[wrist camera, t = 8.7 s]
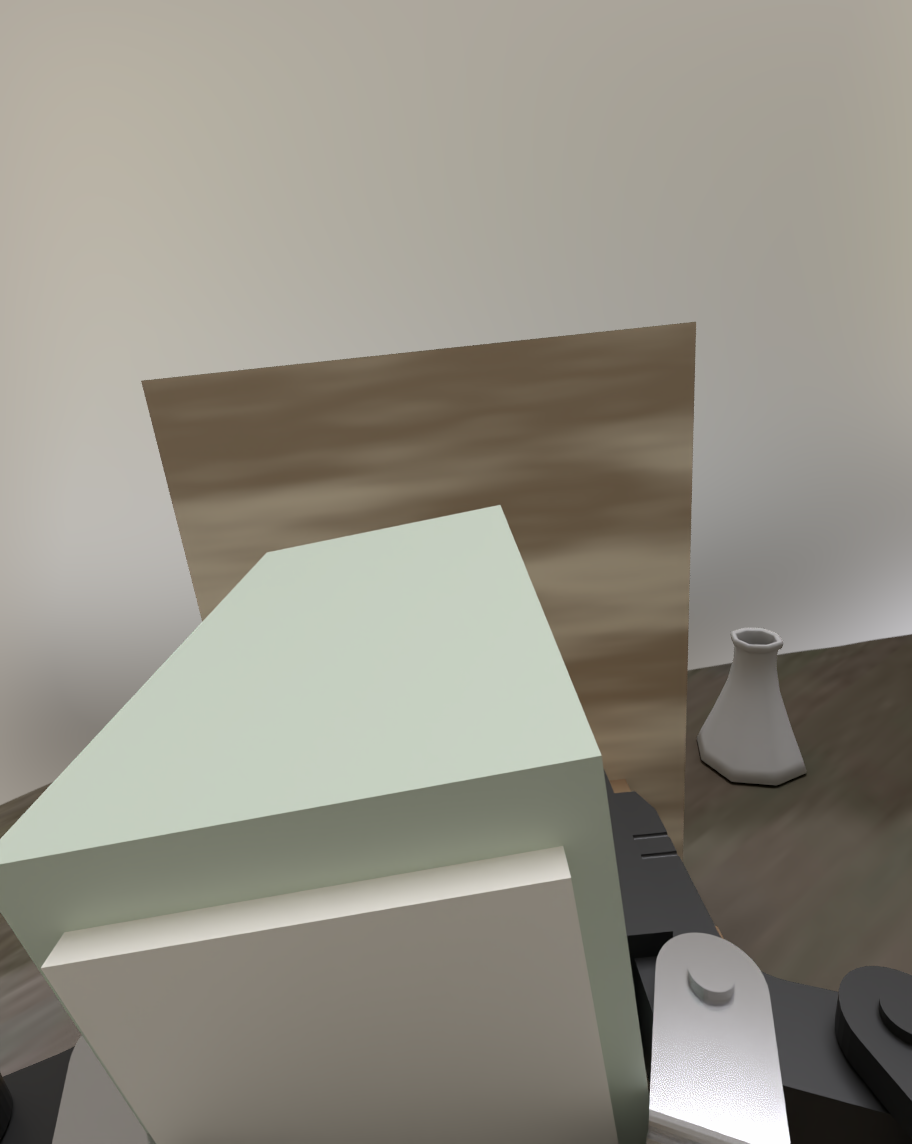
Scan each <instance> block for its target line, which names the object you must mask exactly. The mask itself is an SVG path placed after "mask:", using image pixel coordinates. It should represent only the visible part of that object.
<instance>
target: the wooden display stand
mask: <svg viewBox="0 0 912 1144" xmlns="http://www.w3.org/2000/svg"><path fill="white" fill-rule="evenodd" d="M695 339H696V322H690V323H680V324H670V325H662V326H652V327H643V328H634V329H624V330H615V331H606V332H595V333H586V334H577V335H567V336H558V337H548V338H539V339H530V340H521V341H511V342H502V343H492V344H483V345H473V346H464V347H454V348H445V349H436V350H426V351H417V352H408V353H398V354H389V355H380V356H370V357H360V358H351V359H342V360H332V361H323V362H314V363H305V364H295V365H286V366H276V367H266V368H257V369H248V370H238V371H229V372H220V373H211V374H201V375H192V376H182V377H173V378H163V379H154V380H144V381H141V382H142V385H143V390H144V393H145V397H146V401H147V405H148V409H149V413H150V417H151V421H152V425H153V429H154V433H155V437H156V441H157V445H158V449H159V452H160V457H161V460H162V464H163V468H164V472H165V476H166V480H167V484H168V488H169V492H170V496H171V499H172V504H173V508H174V512H175V515H176V520H177V524H178V527H179V531H180V535H181V539H182V543H183V547H184V551H185V555H186V559H187V563H188V567H189V571H190V575H191V578H192V583H193V587H194V591H195V594H196V598H197V602H198V606H199V610H200V614H201V618H202V622H203V621H204V619H205V618H206V617H207V616H208V615H209V614H210V613H211V612H212V611H213V610H214V609H215V608H216V607H217V606H218V604H219V603H220V602H221V601H222V600H223V599H224V598H225V597H226V596H227V595H228V594H229V593H230V592H231V590H232V589H233V588H234V587H235V586H236V585H237V584H238V583H239V582H240V581H241V580H242V579H243V578H244V576H245V575H246V574H247V573H248V572H249V571H250V570H251V569H252V568H253V567H254V566H255V565H256V564H257V562H258V561H259V560H260V559H261V558H262V557H263V556H264V555H265V554H266V553H267V552H272V551H277V550H282V549H287V548H291V547H296V546H301V545H306V544H311V543H316V542H321V541H326V540H331V539H336V538H340V537H345V536H350V535H355V534H360V533H365V532H370V531H375V530H380V529H384V528H389V527H394V526H399V525H404V524H409V523H414V522H419V521H424V520H429V519H433V518H438V517H443V516H448V515H453V514H458V513H463V512H468V511H473V510H477V509H482V508H487V507H492V506H497V505H501V508H502V510H503V513H504V515H505V518H506V520H507V523H508V525H509V528H510V530H511V533H512V535H513V538H514V540H515V542H516V545H517V547H518V550H519V552H520V555H521V557H522V560H523V562H524V565H525V567H526V570H527V572H528V575H529V577H530V580H531V582H532V585H533V587H534V589H535V592H536V594H537V597H538V599H539V602H540V604H541V607H542V609H543V612H544V614H545V617H546V619H547V622H548V624H549V627H550V629H551V632H552V634H553V636H554V639H555V641H556V644H557V646H558V649H559V651H560V654H561V656H562V659H563V661H564V664H565V666H566V669H567V671H568V674H569V676H570V679H571V681H572V684H573V686H574V688H575V691H576V693H577V696H578V698H579V701H580V703H581V706H582V708H583V711H584V713H585V716H586V718H587V721H588V723H589V726H590V728H591V731H592V733H593V735H594V738H595V740H596V743H597V745H598V748H599V750H600V753H601V755H602V762H603V768H604V770H605V772H606V774H607V777H608V779H609V782H610V784H611V786H612V789H613V791H614V793H621V792H631V791H635V792H636V793H638V794H639V795H640V796H641V797H642V798H643V799H644V800H646V801H647V802H648V803H649V804H650V805H651V806H652V807H654V808H655V809H656V811H657V813H658V815H659V817H660V819H661V821H662V823H663V825H664V827H665V829H666V831H667V835H668V837H670V839H671V841H672V843H673V844H674V846H675V848H676V850H677V855H678V856H680V858H681V860H682V862H683V827H684V786H685V746H686V705H687V665H688V663H687V662H688V624H689V623H688V622H689V584H690V544H691V541H690V540H691V502H692V461H693V422H694V381H695V342H696V341H695ZM715 927H716V929H717V931H718V933H719V934H720V936H721V938H722V939H724V938H723V936H722V934H721V932H720V930H719V928H718V926H715Z"/></svg>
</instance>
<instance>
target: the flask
mask: <svg viewBox="0 0 912 1144" xmlns="http://www.w3.org/2000/svg"><path fill="white" fill-rule="evenodd" d="M730 635H731V639H732V641H733V644H734V646H735V647H734V659H733V662H732V666H731V669H730V673H729V676H728V680H727V682H726V684H725V686H724V688H723V690H722V691H721V693H720V695H719V697H718V699H717V701H716V703H715V705H714V707H713V709H712V711H711V713H710V714H709V716H708V718H707V720H706V721H705V723H704V725H703V727H702V728H701V730H700V732H699V734H698V736H697V741H698V746H699V751H700V756H701V760H702V761H704V762H705V763H707V764H708V765H709V766H711V767H712V768H713V769H715V770H716V771H718V772H719V773H720V774H722V775H723V776H725V777H726V778H727V779H729V780H730V781H731V782H741V783H753V784H765V785H779V784H782V783H784V782H786V781H789V780H791V779H793V778H796V777H798V776H800V775H803V774H805V773H807V771H806V768H805V765H804V762H803V759H802V756H801V753H800V751H799V748H798V745H797V742H796V739H795V737H794V734H793V731H792V728H791V725H790V722H789V719H788V716H787V713H786V710H785V706H784V703H783V700H782V697H781V694H780V690H779V683H778V676H777V669H776V665H777V652H778V650H779V649H781V648H782V646H783V641H782V639H781V638H780V636H779V634H777V633H774V632H772V631H769V630H767V629H764V628H742V629H739V630H735V631H732V632H731V633H730Z"/></svg>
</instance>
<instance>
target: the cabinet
mask: <svg viewBox="0 0 912 1144" xmlns="http://www.w3.org/2000/svg"><path fill="white" fill-rule="evenodd" d="M0 912H1V913H2V915H3V916H4V918H5V919H6V921H7V923H8V924H9V926H10V927H11V929H12V930H13V932H14V933H15V935H16V936H17V938H18V939H19V941H20V942H21V944H22V945H23V947H24V948H25V950H26V951H27V953H28V954H29V956H30V957H31V959H32V960H33V962H34V963H35V965H36V966H37V968H38V969H39V971H40V972H41V974H42V975H43V977H44V978H45V980H46V982H47V983H48V985H49V986H50V988H51V989H52V991H53V992H54V994H55V995H56V997H57V998H58V1000H59V1001H60V1003H61V1004H62V1006H63V1007H64V1009H65V1010H66V1012H67V1013H68V1015H69V1016H70V1018H71V1019H72V1021H73V1022H74V1024H75V1025H76V1027H77V1028H78V1030H79V1031H80V1033H81V1034H82V1036H83V1037H84V1039H85V1041H86V1042H87V1044H88V1045H89V1047H90V1048H91V1050H92V1051H93V1053H94V1054H95V1056H96V1057H97V1059H98V1060H99V1062H100V1063H101V1065H102V1066H103V1068H104V1069H105V1071H106V1072H107V1074H108V1075H109V1077H110V1078H111V1080H112V1081H113V1083H114V1084H115V1086H116V1087H117V1089H118V1090H119V1092H120V1093H121V1095H122V1097H123V1098H124V1100H125V1101H126V1103H127V1104H128V1106H129V1107H130V1109H131V1110H132V1112H133V1113H134V1115H135V1116H136V1118H137V1119H138V1121H139V1122H140V1124H141V1125H142V1127H143V1128H144V1130H145V1131H146V1133H149V1134H150V1135H151V1137H152V1138H153V1140H154V1141H155V1143H156V1144H646V1140H647V1132H648V1125H649V1105H650V1098H649V1091H648V1084H647V1077H646V1070H645V1063H644V1056H643V1048H642V1041H641V1034H640V1027H639V1020H638V1013H637V1005H636V998H635V991H634V984H633V977H632V970H631V962H630V955H629V948H628V941H627V934H626V927H625V919H624V912H623V905H622V898H621V891H620V884H619V876H618V869H617V862H616V855H615V848H614V841H613V833H612V826H611V819H610V812H609V805H608V798H607V791H606V783H605V776H604V769H603V762H602V755H601V753H600V750H599V748H598V745H597V743H596V740H595V738H594V735H593V733H592V731H591V728H590V726H589V723H588V721H587V718H586V716H585V713H584V711H583V708H582V706H581V703H580V701H579V698H578V696H577V693H576V691H575V688H574V686H573V684H572V681H571V679H570V676H569V674H568V671H567V669H566V666H565V664H564V661H563V659H562V656H561V654H560V651H559V649H558V646H557V644H556V641H555V639H554V636H553V634H552V632H551V629H550V627H549V624H548V622H547V619H546V617H545V614H544V612H543V609H542V607H541V604H540V602H539V599H538V597H537V594H536V592H535V589H534V587H533V585H532V582H531V580H530V577H529V575H528V572H527V570H526V567H525V565H524V562H523V560H522V557H521V555H520V552H519V550H518V547H517V545H516V542H515V540H514V538H513V535H512V533H511V530H510V528H509V525H508V523H507V520H506V518H505V515H504V513H503V510H502V508H501V505H497V506H492V507H487V508H482V509H477V510H473V511H468V512H463V513H458V514H453V515H448V516H443V517H438V518H433V519H429V520H424V521H419V522H414V523H409V524H404V525H399V526H394V527H389V528H384V529H380V530H375V531H370V532H365V533H360V534H355V535H350V536H345V537H340V538H336V539H331V540H326V541H321V542H316V543H311V544H306V545H301V546H296V547H291V548H287V549H282V550H277V551H272V552H267V553H266V554H265V555H264V556H263V557H262V558H261V559H260V560H259V561H258V562H257V564H256V565H255V566H254V567H253V568H252V569H251V570H250V571H249V572H248V573H247V574H246V575H245V576H244V578H243V579H242V580H241V581H240V582H239V583H238V584H237V585H236V586H235V587H234V588H233V589H232V590H231V592H230V593H229V594H228V595H227V596H226V597H225V598H224V599H223V600H222V601H221V602H220V603H219V604H218V606H217V607H216V608H215V609H214V610H213V611H212V612H211V613H210V614H209V615H208V616H207V617H206V618H205V619H204V621H203V622H202V623H201V624H200V625H199V626H198V627H197V628H196V629H195V630H194V631H193V632H192V633H191V635H190V636H189V637H188V638H187V639H186V640H185V641H184V642H183V643H182V644H181V645H180V646H179V647H178V649H177V650H176V651H175V652H174V653H173V654H172V655H171V656H170V657H169V658H168V659H167V660H166V662H165V663H164V664H163V665H162V666H161V667H160V668H159V669H158V670H157V671H156V672H155V673H154V674H153V676H152V677H151V678H150V679H149V680H148V681H147V682H146V683H145V684H144V685H143V686H142V687H141V688H140V689H139V690H138V692H137V693H136V694H135V695H134V696H133V697H132V698H131V699H130V700H129V701H128V702H127V703H126V704H125V706H124V707H123V708H122V709H121V710H120V711H119V712H118V713H117V714H116V715H115V716H114V717H113V718H112V720H111V721H110V722H109V723H108V724H107V725H106V726H105V727H104V728H103V729H102V730H101V731H100V732H99V734H98V735H97V736H96V737H95V738H94V739H93V740H92V741H91V742H90V743H89V744H88V745H87V746H86V748H85V749H84V750H83V751H82V752H81V753H80V754H79V755H78V756H77V757H76V758H75V759H74V760H73V762H72V763H71V764H70V765H69V766H68V767H67V768H66V769H65V770H64V771H63V772H62V773H61V774H60V776H59V777H58V778H57V779H56V780H55V781H54V782H53V783H52V784H51V785H50V786H49V787H48V788H47V789H46V791H45V792H44V793H43V794H42V795H41V796H40V797H39V798H38V799H37V800H36V801H35V802H34V803H33V805H32V806H31V807H30V808H29V809H28V810H27V811H26V812H25V813H24V814H23V815H22V816H21V817H20V819H19V820H18V821H17V822H16V823H15V824H14V825H13V826H12V827H11V828H10V829H9V830H8V831H7V833H6V834H5V835H4V836H3V837H2V838H1V839H0Z"/></svg>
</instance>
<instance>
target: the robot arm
mask: <svg viewBox="0 0 912 1144" xmlns="http://www.w3.org/2000/svg"><path fill="white" fill-rule="evenodd" d="M603 769H604V768H603ZM604 776H605V783H606V791H607V798H608V805H609V812H610V819H611V826H612V833H613V841H614V848H615V855H616V862H617V869H618V876H619V884H620V891H621V898H622V905H623V912H624V919H625V927H626V934H627V941H628V948H629V955H630V962H631V970H632V977H633V984H634V991H635V998H636V1005H637V1013H638V1020H639V1027H640V1034H641V1041H642V1048H643V1056H644V1063H645V1068H646V1072H647V1075H648V1078H649V1082H650V1105H649V1125H648V1132H647V1140H646V1144H912V976H911V975H909V974H907V973H904V972H901V971H898V970H895V969H891V968H887V967H879V966H865V967H861V968H857V969H855V970H852V971H850V972H849V973H848V974H847V975H846V976H845V977H844V978H843V980H842V982H841V984H840V988H839V992H836V991H831V990H827V989H822V988H818V987H813V986H808V985H804V984H799V983H794V982H790V981H786V980H782V979H779V978H776V977H773V976H771V975H768V974H766V973H764V972H762V971H760V969H759V968H758V966H757V965H756V964H755V963H754V962H753V960H752V959H751V958H750V957H749V956H748V955H747V954H746V953H745V952H743V951H742V950H741V949H739V948H738V947H737V946H735V945H733V944H732V943H730V942H728V941H726V940H724V939H722V938H721V936H720V934H719V933H718V931H717V929H716V927H715V925H714V923H713V921H712V919H711V917H710V915H709V913H708V911H707V910H706V908H705V906H704V904H703V902H702V900H701V898H700V896H699V894H698V892H697V890H696V888H695V886H694V884H693V882H692V880H691V878H690V876H689V874H688V872H687V870H686V868H685V866H684V864H683V862H682V860H681V858H680V856H678V855H677V850H676V848H675V846H674V844H673V843H672V841H671V839H670V837H668V835H667V831H666V829H665V827H664V825H663V823H662V821H661V819H660V817H659V815H658V813H657V811H656V809H655V808H654V807H652V806H651V805H650V804H649V803H648V802H647V801H646V800H644V799H643V798H642V797H641V796H640V795H639V794H638V793H636V792H635V791H631V792H621V793H614V791H613V789H612V786H611V784H610V782H609V779H608V777H607V774H606V772H605V770H604ZM0 1144H156V1143H155V1141H154V1140H153V1138H152V1137H151V1135H150V1134H149V1133H146V1131H145V1130H144V1128H143V1127H142V1125H141V1124H140V1122H139V1121H138V1119H137V1118H136V1116H135V1115H134V1113H133V1112H132V1110H131V1109H130V1107H129V1106H128V1104H127V1103H126V1101H125V1100H124V1098H123V1097H122V1095H121V1093H120V1092H119V1090H118V1089H117V1087H116V1086H115V1084H114V1083H113V1081H112V1080H111V1078H110V1077H109V1075H108V1074H107V1072H106V1071H105V1069H104V1068H103V1066H102V1065H101V1063H100V1062H99V1060H98V1059H97V1057H96V1056H95V1054H94V1053H93V1051H92V1050H91V1048H90V1047H89V1045H88V1044H87V1042H86V1041H85V1039H84V1037H83V1036H82V1035H81V1037H80V1038H79V1040H78V1042H77V1043H76V1045H75V1046H74V1047H72V1048H71V1049H69V1050H66V1051H64V1052H62V1053H60V1054H58V1055H55V1056H53V1057H50V1058H48V1059H45V1060H43V1061H41V1062H38V1063H36V1064H33V1065H31V1066H28V1067H26V1068H23V1069H21V1070H19V1071H16V1072H14V1073H11V1074H9V1075H6V1076H4V1077H2V1075H1V1073H0Z"/></svg>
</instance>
